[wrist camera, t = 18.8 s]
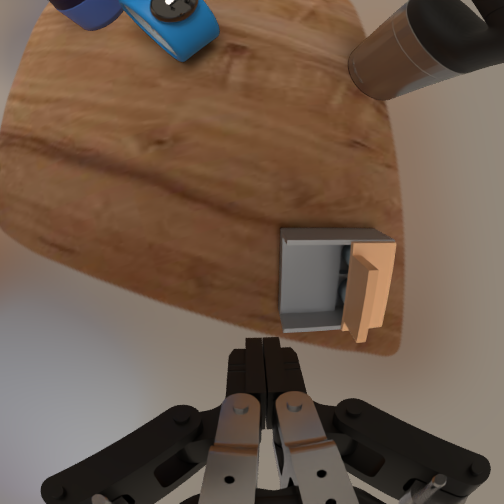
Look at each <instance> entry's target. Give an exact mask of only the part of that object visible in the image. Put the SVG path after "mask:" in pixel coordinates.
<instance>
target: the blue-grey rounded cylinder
mask: <svg viewBox="0 0 504 504" xmlns="http://www.w3.org/2000/svg"><path fill="white" fill-rule="evenodd" d="M350 250H351V245H345V246H344V248H343V251H342V257H343V260H344V261H345V262H346V264H347V265H348V266H349V260H350Z"/></svg>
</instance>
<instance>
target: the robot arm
mask: <svg viewBox="0 0 504 504" xmlns="http://www.w3.org/2000/svg"><path fill="white" fill-rule="evenodd" d="M472 2H473V3H474V5H475V6H476V8H477V9H478V11H479V12H480V14H481V15H482V17H483V19H484V20H485V22H486V23H485V22H484V21H483V20H482V19H480V18H479V17H478V16H477V15H476V14H475V13H474V12H473V11H472V10H471V9H470V8H469V7H468V6H467V5H465V4H464V3H463V2H462V1H460V0H409V1H408V2H407V3H405V4H404V5H403V6H402V7H401V8H400V9H398V10H397V11H396V12H395V13H394V14H393V15H392V16H391V17H389V18H388V19H387V20H386V21H385V22H384V23H383V24H382V25H380V26H379V28H377V29H376V30H375V31H374V32H373V33H372V34H371V35H370V36H369V37H368V38H366V39H365V40H364V41H363V42H362V43H361V44H360V45H359V46H358V47H357V48H356V49H355V50H354V51H353V52H352V53H351V55H350V57H349V61H348V68H349V72H350V75H351V77H352V80H353V81H354V83H355V84H356V85H357V87H358V88H359V89H360V90H361V91H363V92H364V93H365V94H366V95H368V96H370V97H372V98H375V99H378V100H390V99H392V98H395V97H398V96H401V95H403V94H406V93H409V92H412V91H414V90H417V89H420V88H423V87H426V86H429V85H432V84H435V83H437V82H441V81H444V80H447V79H450V78H453V77H456V76H459V75H463V74H466V73H469V72H473V71H476V70H479V69H482V68H485V67H489V66H493V65H497V64H501V63H504V0H472ZM265 418H266V427H267V429H272V430H273V449H274V454H275V459H276V464H277V469H278V474H279V479H280V490H266V489H260V488H257V483H258V464H259V444H260V442H261V430H262V429H265ZM205 465H206V469H205V473H204V478H203V483H202V488H201V493H200V494H197V495H194V496H192V497H190V498H188V499H186V500H184V501H183V502H181V503H180V504H386V503H384V502H382V501H381V500H379V499H377V498H376V497H374V496H372V495H371V494H369V493H367V492H366V491H364V490H362V489H359V488H357V487H354V486H352V484H351V481H350V479H349V476H348V474H347V472H349V473H350V474H352V475H354V476H355V477H357V478H359V479H360V480H362V481H364V482H366V483H367V484H369V485H371V486H373V487H374V488H376V489H378V490H380V491H382V492H384V493H385V494H387V495H389V496H391V497H393V498H395V499H397V500H399V504H464V503H465V501H466V499H467V497H468V496H469V495H470V494H471V493H472V492H473V491H474V490H476V489H477V488H478V487H479V486H480V485H481V484H482V483H483V482H485V481H486V480H487V478H488V477H489V474H490V470H491V469H490V468H491V467H490V463H489V461H488V460H487V459H486V458H485V457H484V456H482V455H480V454H477V453H474V452H472V451H469V450H466V449H464V448H462V447H459V446H457V445H455V444H452V443H450V442H447V441H445V440H443V439H440V438H438V437H436V436H434V435H432V434H429V433H427V432H425V431H423V430H421V429H418V428H416V427H414V426H412V425H410V424H407V423H406V422H404V421H402V420H400V419H398V418H396V417H394V416H392V415H390V414H388V413H386V412H384V411H382V410H380V409H378V408H376V407H374V406H372V405H370V404H368V403H367V402H364V401H363V400H360V399H355V398H351V399H345V400H343V401H341V402H340V403H339V404H338V405H337V406H328V405H322V404H318V403H316V402H314V401H313V400H312V399H311V397H310V396H308V395H307V392H306V388H305V384H304V380H303V376H302V372H301V370H300V364H299V360H298V357H297V354H296V352H294V350H293V349H292V348H291V347H285V348H281V347H280V341H279V337H266V338H263V339H262V338H246V349H234V350H233V351H232V352H231V354H230V355H229V360H228V373H227V388H226V398H225V400H224V401H223V403H222V404H221V405H220V406H218V407H216V408H214V409H212V410H208V411H203V412H199V411H198V410H197V409H196V408H194V407H192V406H188V405H177V406H174V407H171V408H169V409H168V410H166V411H165V412H163V413H162V414H160V415H159V416H157V417H156V418H154V419H153V420H151V421H149V422H148V423H146V424H145V425H143V426H142V427H140V428H138V429H137V430H135V431H134V432H132V433H130V434H128V435H127V436H125V437H123V438H122V439H120V440H119V441H117V442H115V443H113V444H112V445H110V446H108V447H106V448H105V449H103V450H101V451H99V452H98V453H96V454H94V455H92V456H90V457H88V458H86V459H85V460H83V461H81V462H79V463H77V464H75V465H73V466H71V467H69V468H67V469H65V470H63V471H61V472H59V473H57V474H55V475H53V476H51V477H49V478H47V479H46V480H45V481H44V482H43V484H42V486H41V496H42V498H43V500H44V501H45V503H46V504H154V503H156V502H157V501H159V500H160V499H161V498H163V497H165V496H166V495H167V494H169V493H170V492H171V491H173V490H174V489H176V488H177V487H178V486H179V485H181V484H182V483H183V482H185V481H186V480H187V479H189V478H190V477H191V476H193V475H194V474H195V473H196V472H198V471H199V470H200V469H201V468H202V467H204V466H205Z"/></svg>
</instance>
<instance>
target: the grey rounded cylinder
mask: <svg viewBox="0 0 504 504" xmlns="http://www.w3.org/2000/svg"><path fill="white" fill-rule="evenodd" d="M347 279H348V278H346V279H345V280H343V281H342V282H341V284H340V285H339V288H338V294H339V297H340V298H341V300H342V301H343V303H344V302H345V295H346V287H347Z"/></svg>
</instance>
